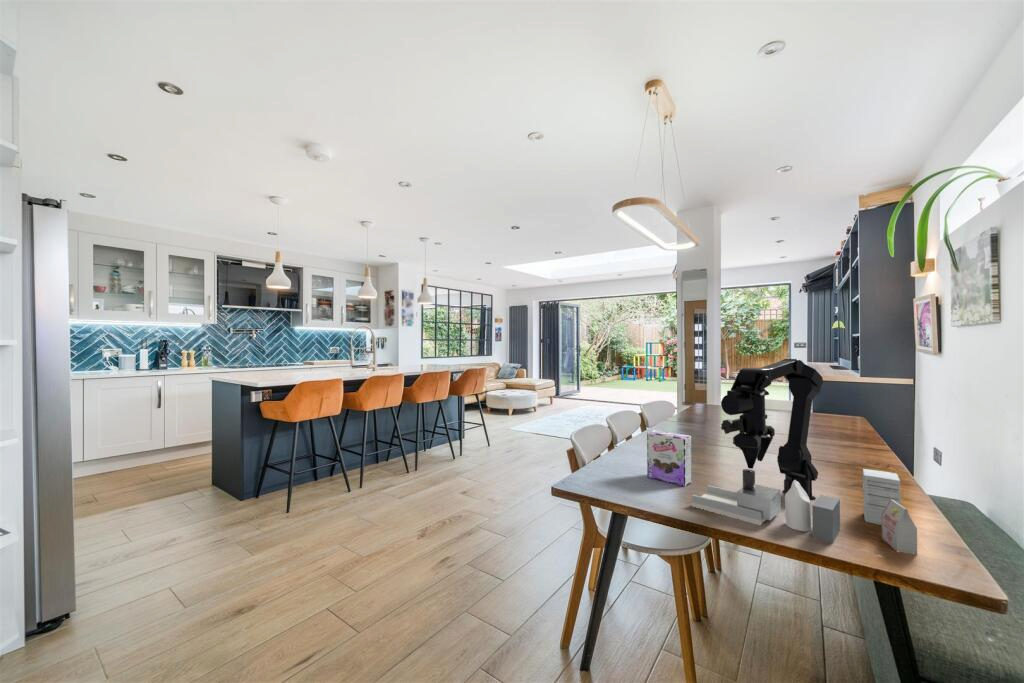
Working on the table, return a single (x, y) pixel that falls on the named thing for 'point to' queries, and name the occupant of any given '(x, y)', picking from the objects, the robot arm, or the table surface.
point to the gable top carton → (899, 528)
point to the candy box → (669, 457)
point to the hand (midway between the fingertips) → (755, 464)
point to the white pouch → (797, 508)
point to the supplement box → (879, 493)
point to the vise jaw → (758, 496)
